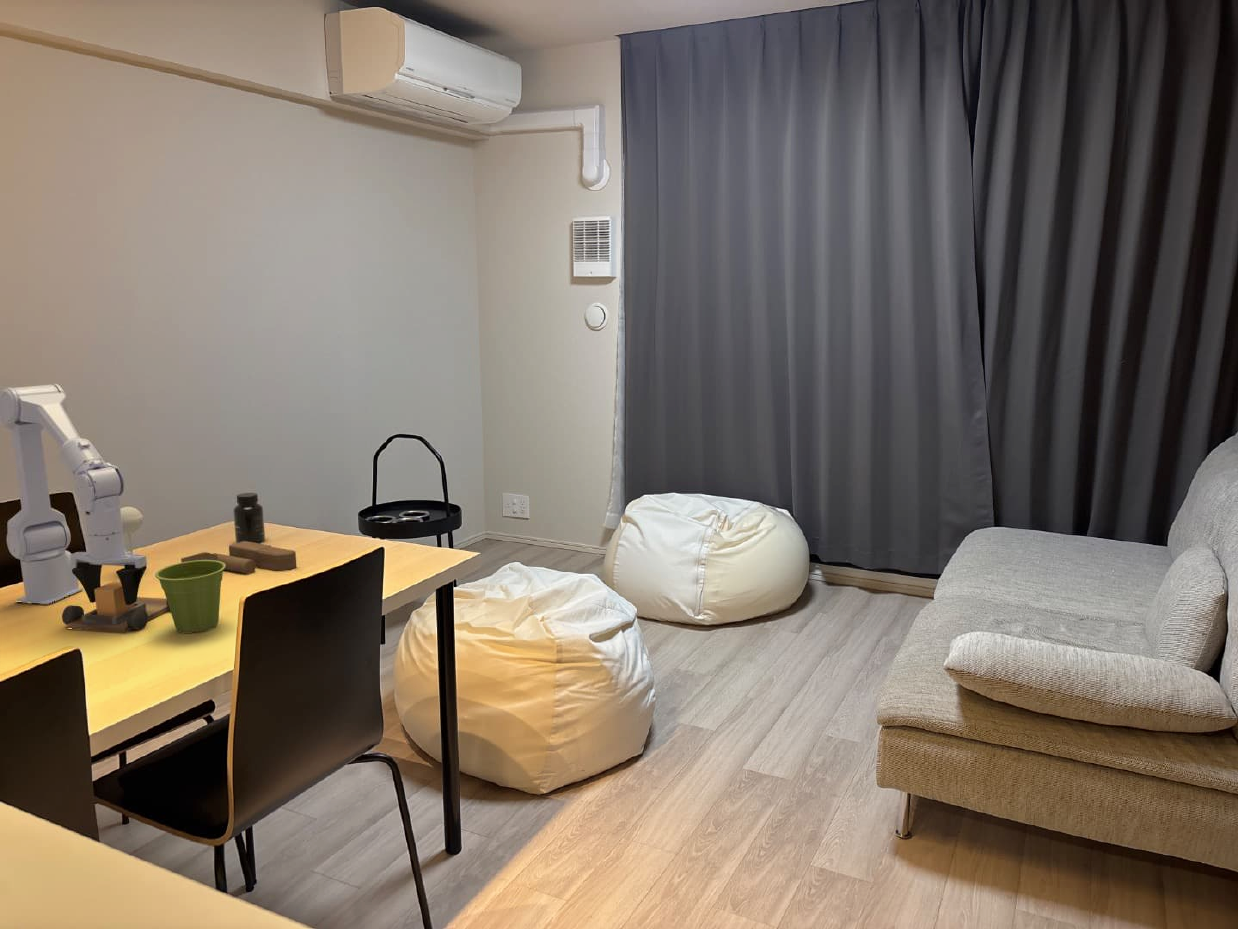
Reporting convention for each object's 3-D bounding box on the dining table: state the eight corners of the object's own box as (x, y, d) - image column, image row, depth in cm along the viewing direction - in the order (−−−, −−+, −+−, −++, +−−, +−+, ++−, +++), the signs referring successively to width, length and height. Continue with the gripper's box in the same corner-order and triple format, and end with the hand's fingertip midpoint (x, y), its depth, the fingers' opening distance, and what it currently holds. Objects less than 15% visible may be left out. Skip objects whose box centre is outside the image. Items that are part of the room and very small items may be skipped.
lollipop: (112, 575, 203) (104, 509, 200) (134, 568, 209) (126, 503, 206) (133, 578, 201) (125, 511, 198) (155, 570, 207) (148, 505, 204)
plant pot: (180, 616, 178) (175, 559, 175) (241, 616, 177) (236, 559, 175) (148, 639, 166) (141, 578, 164) (213, 639, 166) (207, 579, 163)
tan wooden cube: (116, 611, 178) (113, 581, 177) (135, 612, 177) (131, 582, 176) (97, 620, 173) (94, 589, 172) (116, 621, 172) (113, 590, 171)
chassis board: (121, 600, 187) (119, 583, 186) (188, 604, 184) (186, 587, 183) (60, 629, 171) (57, 610, 171) (133, 633, 168) (130, 615, 168)
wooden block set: (241, 535, 216) (297, 545, 207) (243, 559, 217) (298, 569, 208) (177, 553, 201) (234, 564, 193) (179, 578, 202) (236, 590, 194)
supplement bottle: (230, 544, 227) (225, 497, 225) (245, 537, 234) (241, 491, 232) (256, 545, 226) (251, 498, 224) (270, 538, 233) (267, 491, 230)
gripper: (154, 528, 174) (161, 597, 176) (86, 525, 177) (95, 593, 179) (128, 538, 167) (136, 609, 170) (58, 534, 170) (67, 605, 172)
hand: (113, 602), depth 174 cm, fingers open, 7 cm apart
